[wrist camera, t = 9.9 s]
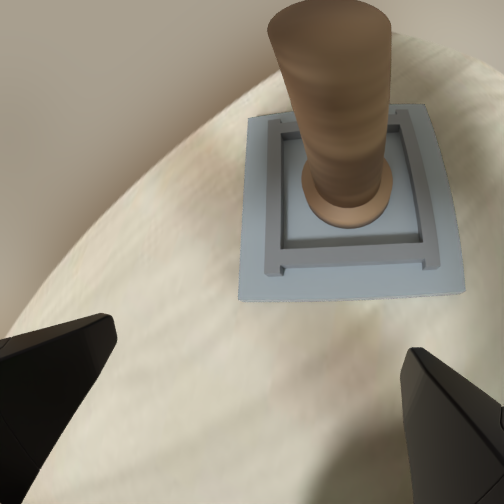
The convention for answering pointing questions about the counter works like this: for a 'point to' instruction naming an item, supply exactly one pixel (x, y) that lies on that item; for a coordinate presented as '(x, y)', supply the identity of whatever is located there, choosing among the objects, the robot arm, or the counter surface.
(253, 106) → the counter surface
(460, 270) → the base plate
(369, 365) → the counter surface
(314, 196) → the flanged spindle
